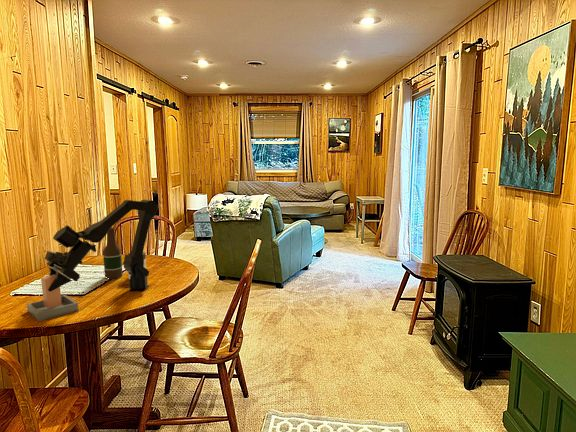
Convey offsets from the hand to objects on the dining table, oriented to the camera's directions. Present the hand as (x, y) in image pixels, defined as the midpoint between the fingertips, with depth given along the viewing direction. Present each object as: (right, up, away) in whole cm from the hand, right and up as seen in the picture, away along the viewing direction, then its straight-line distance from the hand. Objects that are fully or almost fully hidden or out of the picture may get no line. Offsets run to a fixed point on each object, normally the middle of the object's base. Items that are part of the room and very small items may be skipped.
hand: (46, 289), depth 146 cm
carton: (+1, -6, +2) cm, 7 cm away
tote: (+1, -9, +2) cm, 9 cm away
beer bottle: (+5, -2, +44) cm, 44 cm away
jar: (+17, -3, +43) cm, 46 cm away
